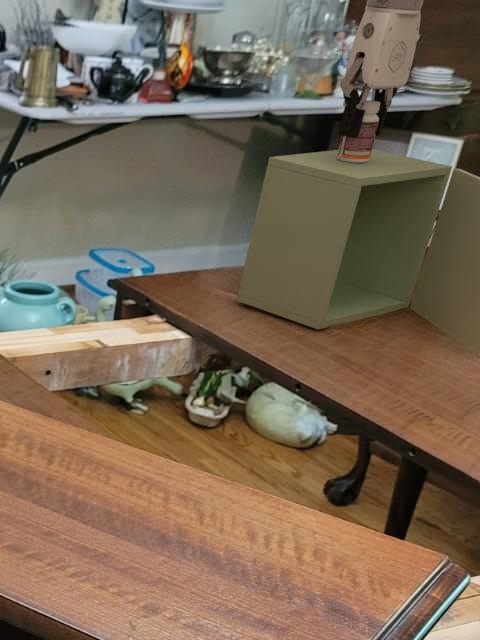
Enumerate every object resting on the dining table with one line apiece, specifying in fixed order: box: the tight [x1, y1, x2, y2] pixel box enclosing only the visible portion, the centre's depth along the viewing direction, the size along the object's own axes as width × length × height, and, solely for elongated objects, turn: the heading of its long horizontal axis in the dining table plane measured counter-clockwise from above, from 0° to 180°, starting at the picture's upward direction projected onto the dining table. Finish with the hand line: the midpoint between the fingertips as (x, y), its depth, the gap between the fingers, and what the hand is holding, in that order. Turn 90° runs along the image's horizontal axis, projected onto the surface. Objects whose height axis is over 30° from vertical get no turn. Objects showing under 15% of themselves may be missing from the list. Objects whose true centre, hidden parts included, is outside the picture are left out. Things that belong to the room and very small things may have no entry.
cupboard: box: [236, 148, 453, 330], centre depth 176 cm, size 16×24×22 cm, turn 125°
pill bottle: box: [337, 99, 380, 163], centre depth 168 cm, size 5×5×8 cm
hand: (359, 134), depth 168 cm, fingers open, 4 cm apart
